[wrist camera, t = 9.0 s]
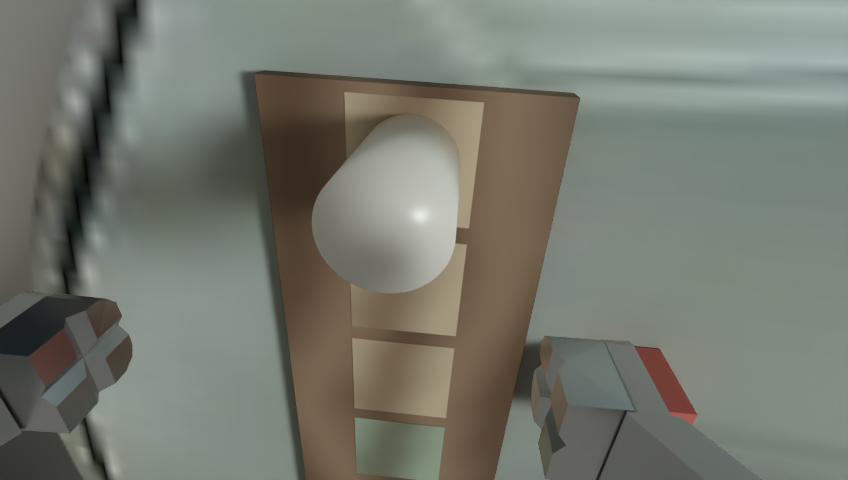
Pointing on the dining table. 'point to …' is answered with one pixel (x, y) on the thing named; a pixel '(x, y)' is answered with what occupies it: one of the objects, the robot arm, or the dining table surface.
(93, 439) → the dining table surface
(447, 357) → the board
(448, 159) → the pawn
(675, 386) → the die
